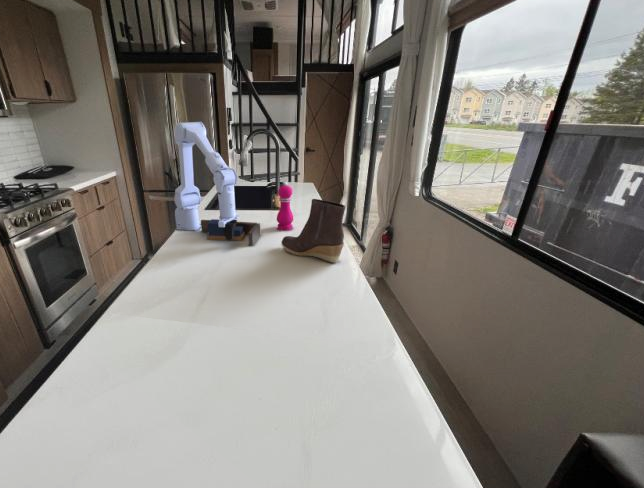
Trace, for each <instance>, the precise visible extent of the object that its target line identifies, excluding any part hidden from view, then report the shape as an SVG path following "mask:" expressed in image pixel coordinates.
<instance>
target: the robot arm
mask: <svg viewBox="0 0 644 488" xmlns="http://www.w3.org/2000/svg"><path fill="white" fill-rule="evenodd" d="M174 140H175V144H177V145H178V157H179V172H180V173H179V175H180V185H179V186H178V187H176V188H175V189H174V190H175V191H174V199H173V200H174V204H175V206H176V208H175V210H174V219H175V225H176V228H175V230H181V231H182V230H183V231H197V230H199V229H201V223H200V220H199V219H200V218H199V207H200V205H201V202H202V196H201V194H200V193H201V192H200V189H199V188H198V187H197V186H195V181H194V160H193V159H194V158H193V146H195V145H196V146H197V147H198V149H199V151H201V153H202V154H203V155H204V157H205V159H204V163H205V165H206V166H207V168H208V169H209V170H210V172H211V173H212V175H213V177H212V179H213V183H214V185H215V190H216V192H217V198H218V210H219V217H218V220H219V222H218V225H219V227H221V228H222V229H223V231H224V234H225V237H226V240H225V241H233V240H232V239H233V235H234V229H235V226H236V223H237V222H238V219H240V216H239V215H238V212H237V210H236V198H235V197H236V196H235V185H236V184H237V182H238V176H237V173H236V172H237V171H236V170H235V169H234V168H233V167H230V166H229V165H227V164H226V162H225V161H224V159H223V157H222V156H221V154H220V153H219V152H217V151H214V149H213V147H212V145H211V143H210V141H209V139H208V137H207V128H206V127H205V124H204V123H203V122H202V121H193V122H192V121H191V122H188V121H187V122H179V121H178V122H177V123H176V124H175V126H174Z"/></svg>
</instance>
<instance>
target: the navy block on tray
mask: <svg viewBox="0 0 644 488" xmlns="http://www.w3.org/2000/svg"><path fill="white" fill-rule="evenodd" d="M210 220H211V219H201V220H200V224H201V227H200V229H201V232H202V233H208V224H207V223H208V222H209V221H210ZM236 226H243V232H245V236H248V246H250V247H252V246H254V245H255V243H256V242H257V241H258V239H259V238H260V236H261V222H260V223H259V222H250V221H237V223H236Z"/></svg>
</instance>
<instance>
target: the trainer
mask: <svg viewBox="0 0 644 488" xmlns="http://www.w3.org/2000/svg"><path fill="white" fill-rule="evenodd" d="M209 220H210V221H209V222H208V223H207V224H208V232H207V233H208V234H207V235H206V237H207V240H217V241H218V240H221V241H223V240H224V241H227V240H226V237H225V234H224V231H223V229H222V228H221V227H219V225H218V222H219V219H216V218H215V219H213V218H212V219H209ZM245 236H246V235H245V232H243V226H235V229H234V235H233V239H232V240H231V241H242V240H244V238H245Z"/></svg>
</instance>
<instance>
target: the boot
mask: <svg viewBox="0 0 644 488" xmlns="http://www.w3.org/2000/svg"><path fill="white" fill-rule="evenodd" d="M346 207H347V206H346V205H344V204H343V203H340V202H336V201H329V200H324V199H318V198H312V199H311V206H310V211H309V215H308V218H307V220H306V223H305V224H304V225H303V228H302V230H301V232H300V233H299V235H297V236H292V235H285V236H284V237H283V238H282V239H281V246H282V247H283V249H284V250H286V251H287V252H288V253H291V254H292V255H295V256H302V257H304V256H305V257H306V256H307V257H308V256H309V257H315V258H319V259H321V260H323V261H326V262H328V263H334V264H335V263H337V262H339V259H340V256H341V253H342V249H343V248H344V245H345V242H344V241H345V233H344V227H343V220H344V216H345V215H344V214H345V211H346Z"/></svg>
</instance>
